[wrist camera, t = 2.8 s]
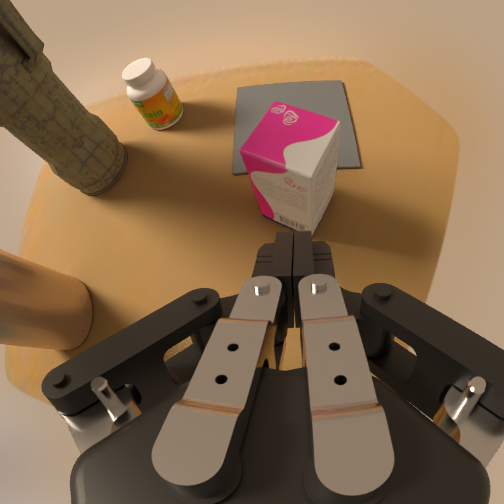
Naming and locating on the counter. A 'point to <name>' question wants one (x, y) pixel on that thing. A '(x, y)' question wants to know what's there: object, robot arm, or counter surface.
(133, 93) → the supplement bottle
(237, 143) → the rubber mat
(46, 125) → the thermos
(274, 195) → the supplement box
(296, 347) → the counter surface
